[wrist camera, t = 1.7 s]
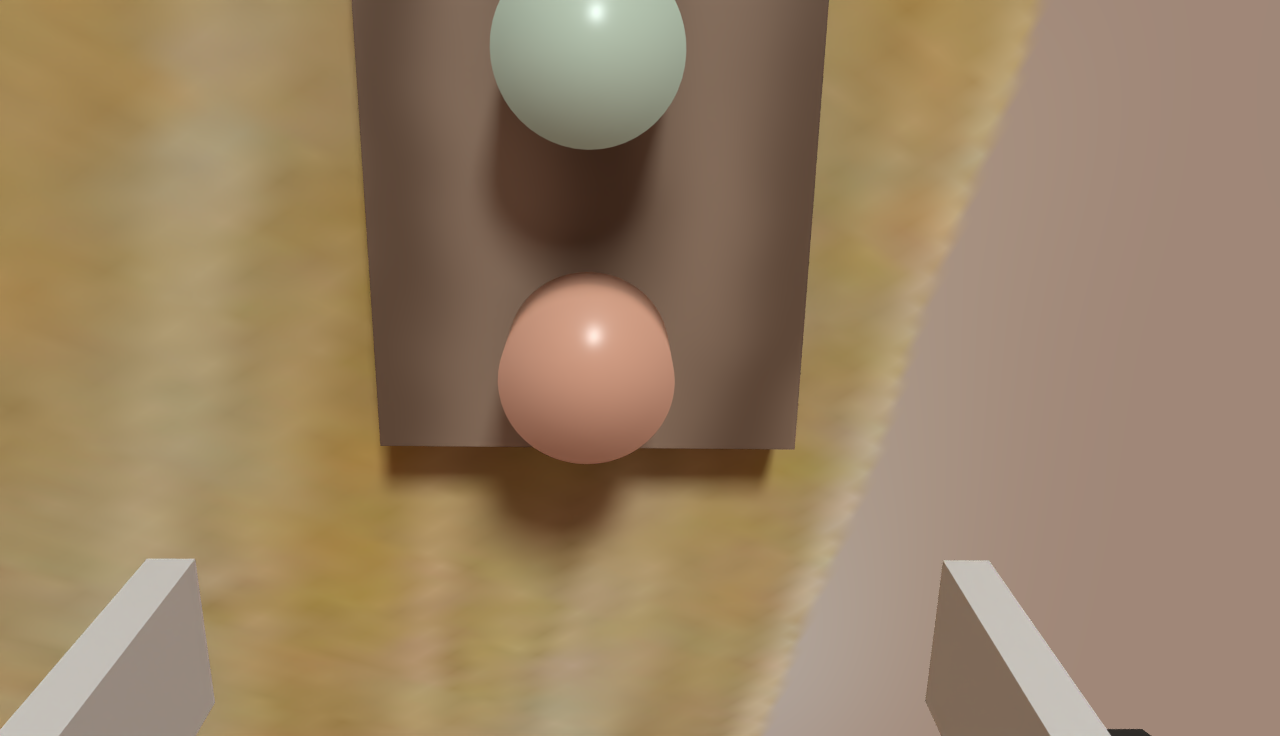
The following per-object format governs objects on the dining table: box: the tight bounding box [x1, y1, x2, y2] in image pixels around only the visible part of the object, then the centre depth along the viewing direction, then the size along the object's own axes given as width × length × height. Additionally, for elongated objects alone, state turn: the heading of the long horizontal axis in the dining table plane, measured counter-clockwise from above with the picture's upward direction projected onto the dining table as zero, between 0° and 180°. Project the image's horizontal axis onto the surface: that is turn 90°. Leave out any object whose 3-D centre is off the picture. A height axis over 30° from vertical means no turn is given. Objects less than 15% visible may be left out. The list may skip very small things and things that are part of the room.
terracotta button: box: [498, 272, 675, 464], centre depth 30 cm, size 5×5×3 cm
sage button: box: [490, 0, 686, 150], centre depth 28 cm, size 5×5×3 cm
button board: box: [352, 0, 829, 449], centre depth 32 cm, size 14×26×3 cm, turn 179°
